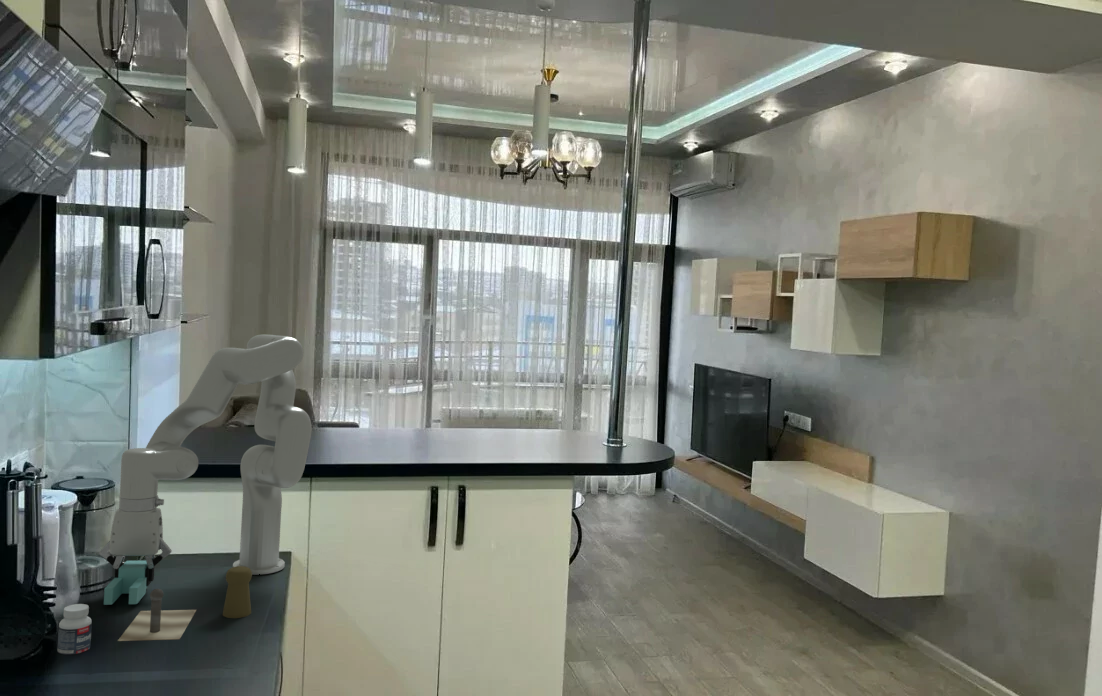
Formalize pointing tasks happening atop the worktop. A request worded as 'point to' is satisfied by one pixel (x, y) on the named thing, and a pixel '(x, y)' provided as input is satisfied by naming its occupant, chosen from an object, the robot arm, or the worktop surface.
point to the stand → (158, 622)
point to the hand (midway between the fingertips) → (134, 583)
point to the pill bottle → (74, 630)
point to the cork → (237, 592)
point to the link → (127, 583)
